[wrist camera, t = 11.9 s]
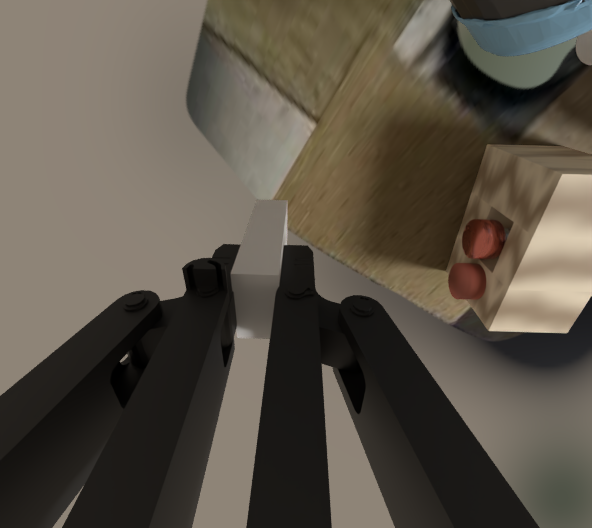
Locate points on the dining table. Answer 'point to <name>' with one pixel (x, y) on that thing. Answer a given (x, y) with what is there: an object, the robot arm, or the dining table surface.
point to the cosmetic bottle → (584, 47)
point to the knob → (484, 238)
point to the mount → (529, 239)
